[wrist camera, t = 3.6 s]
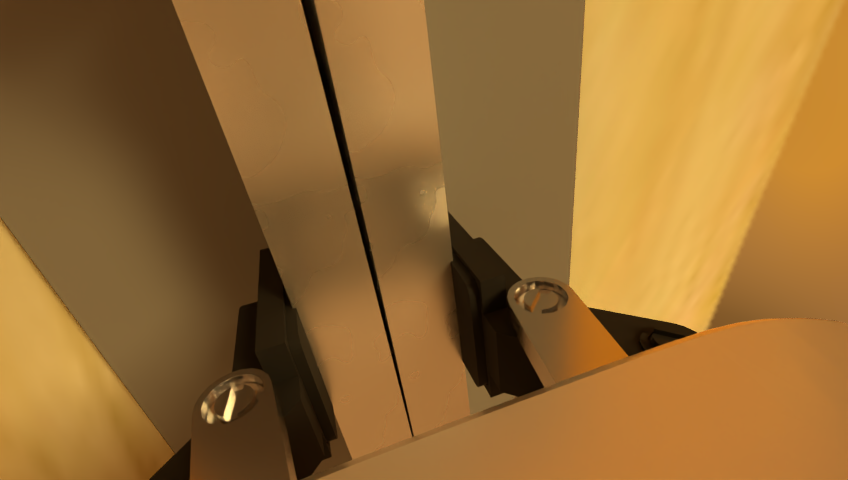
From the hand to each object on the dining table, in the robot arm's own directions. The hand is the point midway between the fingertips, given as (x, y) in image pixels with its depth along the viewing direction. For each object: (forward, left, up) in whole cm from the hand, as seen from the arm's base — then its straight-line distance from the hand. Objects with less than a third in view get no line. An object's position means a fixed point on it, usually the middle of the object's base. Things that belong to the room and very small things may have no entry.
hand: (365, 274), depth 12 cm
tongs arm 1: (0, -1, -1) cm, 2 cm away
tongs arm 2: (0, +1, -1) cm, 2 cm away
